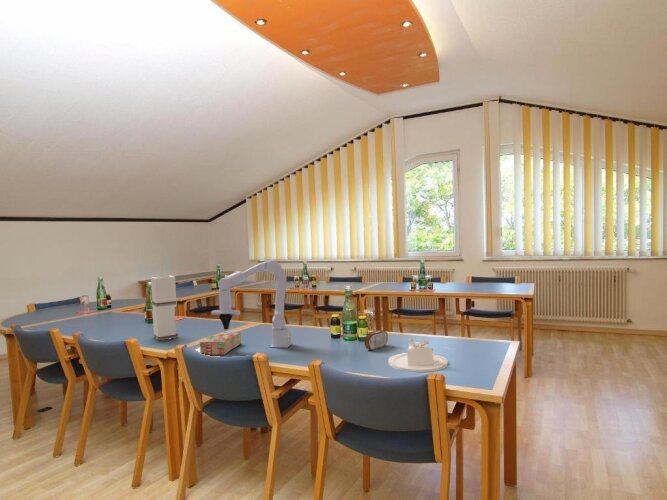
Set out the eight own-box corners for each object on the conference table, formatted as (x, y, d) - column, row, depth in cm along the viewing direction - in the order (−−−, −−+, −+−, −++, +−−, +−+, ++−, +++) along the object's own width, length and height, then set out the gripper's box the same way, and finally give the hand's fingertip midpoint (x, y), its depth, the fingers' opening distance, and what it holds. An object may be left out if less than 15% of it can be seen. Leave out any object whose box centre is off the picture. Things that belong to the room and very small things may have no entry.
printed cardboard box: (241, 343, 225) (220, 343, 227) (241, 331, 224) (219, 331, 227) (223, 354, 204) (199, 354, 206) (223, 341, 204) (199, 341, 206)
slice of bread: (384, 344, 214) (383, 327, 213) (389, 345, 211) (388, 328, 211) (364, 351, 203) (363, 333, 203) (369, 352, 201) (368, 334, 201)
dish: (456, 370, 171) (456, 342, 171) (395, 374, 169) (394, 346, 169) (437, 353, 196) (436, 329, 195) (383, 356, 194) (382, 332, 193)
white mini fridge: (178, 337, 244) (175, 276, 243) (158, 341, 238) (155, 278, 237) (173, 334, 253) (170, 275, 252) (154, 337, 247) (150, 277, 246)
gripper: (207, 303, 211) (209, 330, 211) (235, 303, 208) (236, 331, 208) (214, 301, 218) (216, 327, 218) (241, 301, 215) (242, 328, 215)
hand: (226, 329), depth 214 cm, fingers closed
